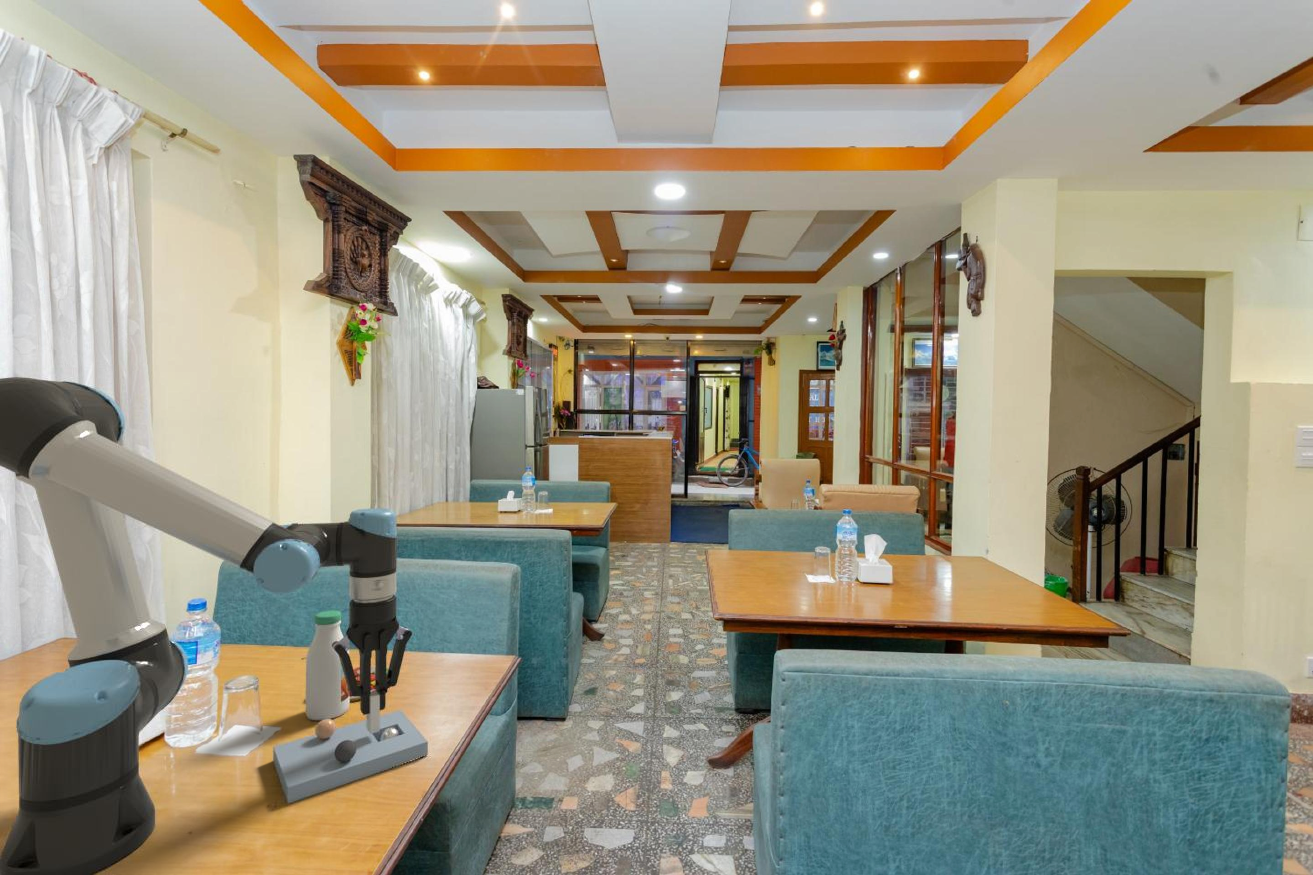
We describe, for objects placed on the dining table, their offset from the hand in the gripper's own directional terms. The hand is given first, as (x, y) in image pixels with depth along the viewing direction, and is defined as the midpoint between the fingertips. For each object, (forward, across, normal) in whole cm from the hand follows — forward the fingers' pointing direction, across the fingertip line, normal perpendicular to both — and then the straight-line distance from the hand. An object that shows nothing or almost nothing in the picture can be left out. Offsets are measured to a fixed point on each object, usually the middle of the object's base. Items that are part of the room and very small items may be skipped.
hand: (372, 729), depth 105 cm
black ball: (0, -6, -5) cm, 7 cm away
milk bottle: (+4, -3, +21) cm, 22 cm away
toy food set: (+4, +4, +29) cm, 30 cm away
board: (+4, -4, 0) cm, 5 cm away
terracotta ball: (0, -6, +5) cm, 8 cm away
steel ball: (+2, +3, 0) cm, 4 cm away
